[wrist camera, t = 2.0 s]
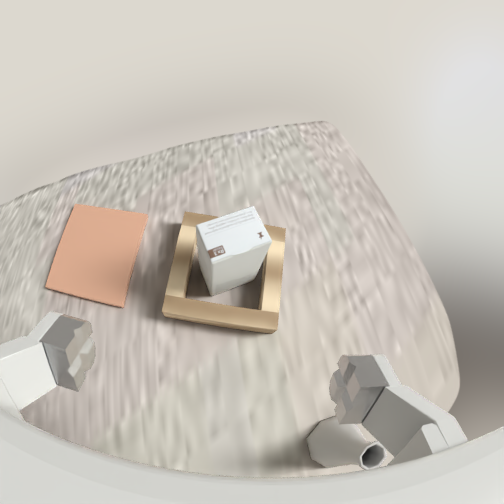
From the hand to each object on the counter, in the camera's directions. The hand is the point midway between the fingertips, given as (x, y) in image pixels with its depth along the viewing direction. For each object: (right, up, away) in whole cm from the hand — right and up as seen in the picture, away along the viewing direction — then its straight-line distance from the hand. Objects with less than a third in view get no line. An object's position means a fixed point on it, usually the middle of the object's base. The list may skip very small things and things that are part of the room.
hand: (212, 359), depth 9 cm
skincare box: (-2, 0, +29) cm, 29 cm away
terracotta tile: (-20, +3, +27) cm, 34 cm away
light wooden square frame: (-2, 0, +29) cm, 29 cm away
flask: (+11, -20, +22) cm, 32 cm away
